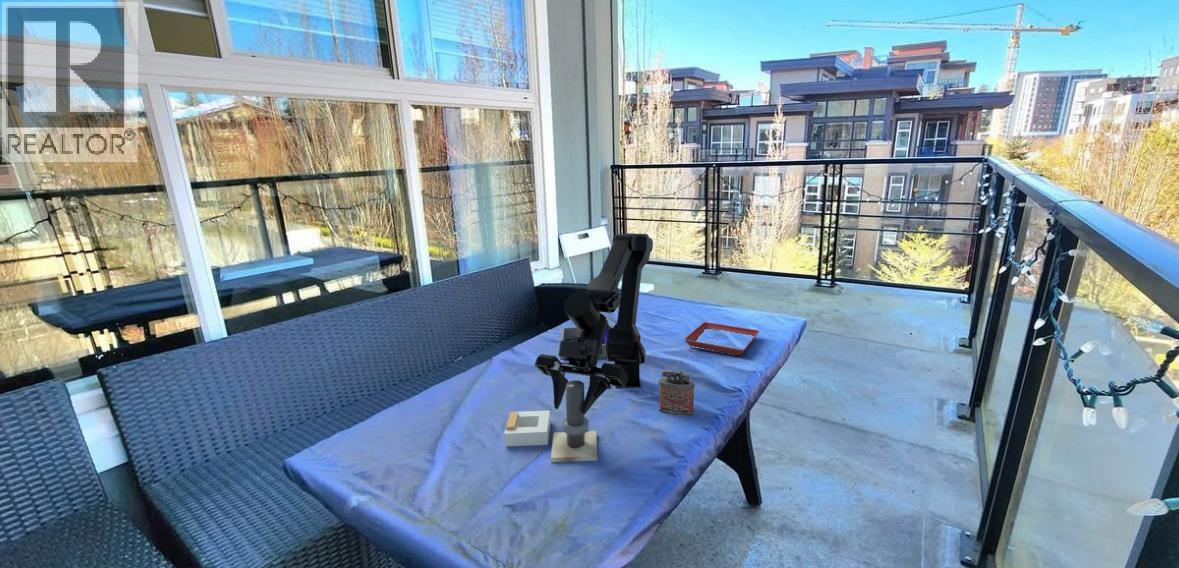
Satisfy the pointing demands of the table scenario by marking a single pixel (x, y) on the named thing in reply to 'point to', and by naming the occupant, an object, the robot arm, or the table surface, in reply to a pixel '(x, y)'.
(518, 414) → the socket block
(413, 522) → the table surface
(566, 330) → the storage tray
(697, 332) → the plant saucer
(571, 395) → the plug
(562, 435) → the birch board
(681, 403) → the lighter
